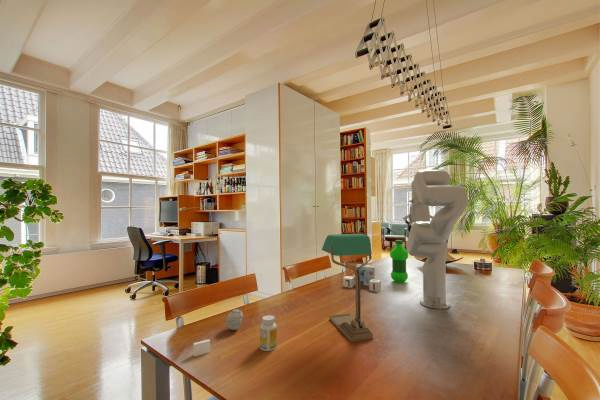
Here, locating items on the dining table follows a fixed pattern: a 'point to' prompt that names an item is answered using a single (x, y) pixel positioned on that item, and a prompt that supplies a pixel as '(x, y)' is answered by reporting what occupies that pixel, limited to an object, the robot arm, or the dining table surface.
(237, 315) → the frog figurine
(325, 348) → the dining table surface
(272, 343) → the supplement bottle
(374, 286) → the numbered block 1
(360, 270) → the light bulb box
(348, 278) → the numbered block 7
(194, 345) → the eraser
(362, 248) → the banker's lamp
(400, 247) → the plastic bottle
